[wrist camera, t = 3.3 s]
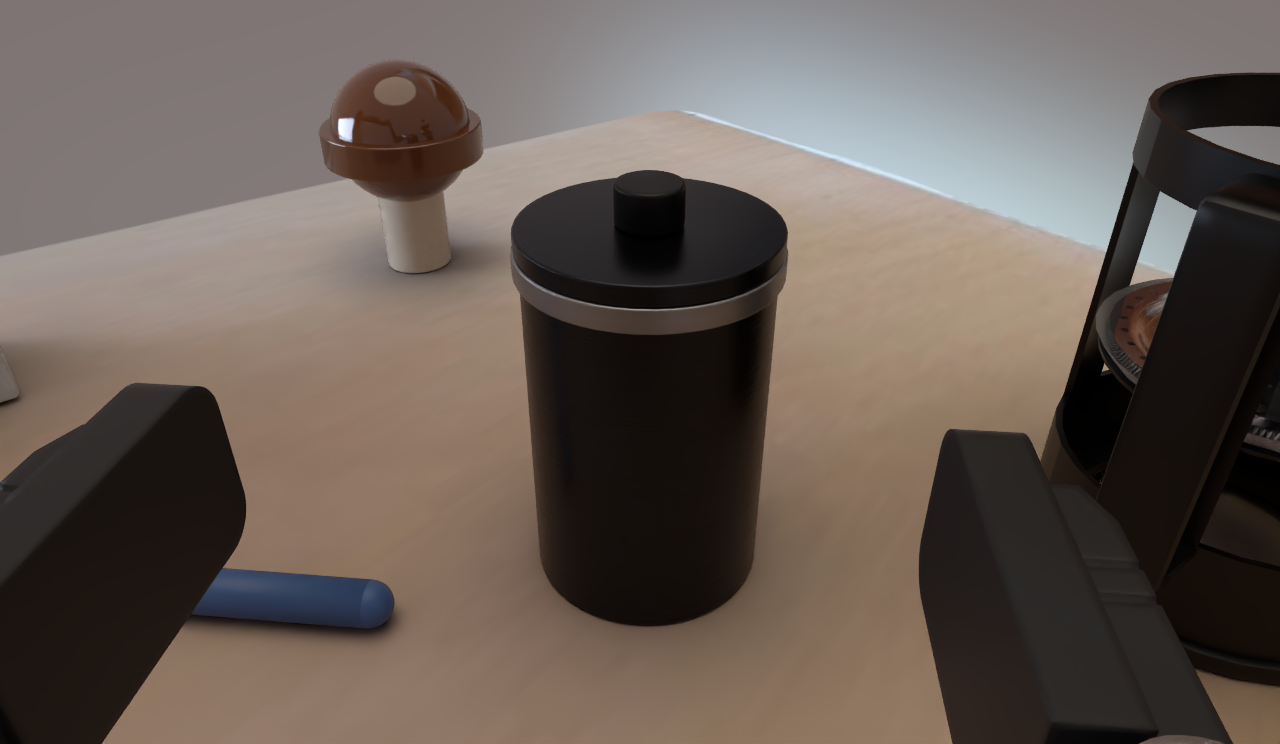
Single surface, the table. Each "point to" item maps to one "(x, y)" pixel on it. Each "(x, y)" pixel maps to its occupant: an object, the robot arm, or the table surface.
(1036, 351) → the table surface
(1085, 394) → the french press
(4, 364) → the small box
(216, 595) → the round blue paddle
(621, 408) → the pot
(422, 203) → the mushroom
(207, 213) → the table surface
